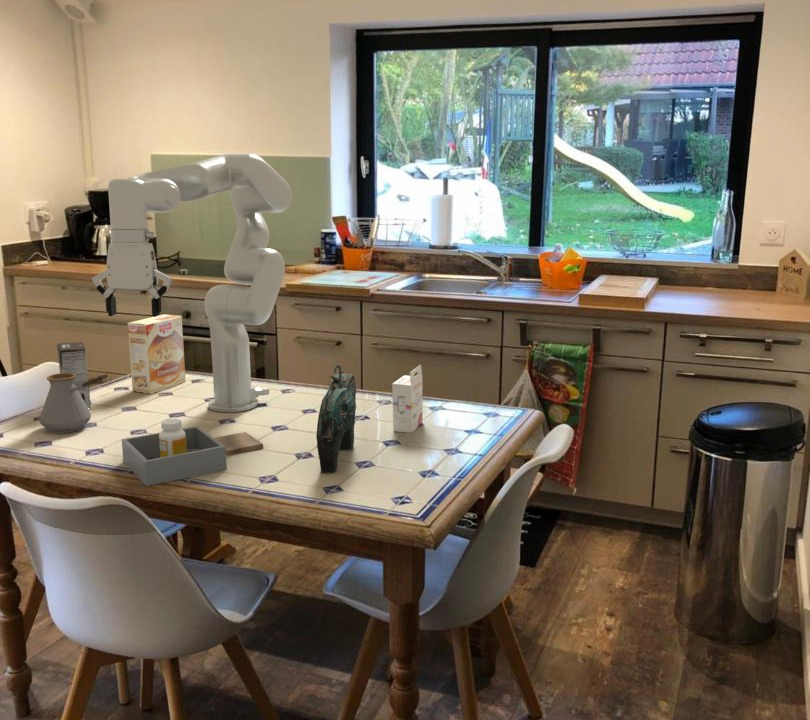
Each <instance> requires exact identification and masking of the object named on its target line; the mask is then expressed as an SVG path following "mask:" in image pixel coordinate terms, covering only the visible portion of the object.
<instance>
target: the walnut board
mask: <svg viewBox="0 0 810 720" xmlns="http://www.w3.org/2000/svg"><path fill="white" fill-rule="evenodd" d="M214 438H215V439H216V440H218V441H219V442H220V443H222V444H223V445H224V446H226V456H229V455H236V454H240V453H244V452H245V453H246V452H250V451H255V450H260V449H264V443H263V442H261V441H259V440H258V439H257V438H255V437H254V436H252V435H251V434H249V433H247V432H246V431H243V432H238V433H233V434H228V435H227V434H226V435H222V436H221V435H220V436H217V437H216V436H215V437H214Z"/></svg>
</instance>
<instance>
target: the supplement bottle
mask: <svg viewBox="0 0 810 720" xmlns="http://www.w3.org/2000/svg"><path fill="white" fill-rule="evenodd" d="M160 424H161V429H162V430H161V431H160V432H158V433H159V445H160V456H159V458H161V457H166V456H171V455H177V454H182V453H187V452H188V451H187V447H186V434H185V431H184V430H182V429H183V427H182V420H181V419H179V418H168V419H164V420H162V421H161V423H160Z"/></svg>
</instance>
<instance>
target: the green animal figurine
mask: <svg viewBox="0 0 810 720" xmlns="http://www.w3.org/2000/svg"><path fill="white" fill-rule="evenodd" d="M337 368H338V373H337ZM333 373H334V374H333V375H330V376H329V377H330V378H331V379H330V381H329V386H328V387H329V388H328V389H327V391H326V393H325V394H324V396H323V398H322V400H321V402H320V407H319V413H318V417H317V424H316V425H317V426H316V435H315V437H316V448H317V454H318V460H319V468H320V472H321V473H322V474H323V473H324V474H335V472H337V470H338V465H339V463H338V462H339V455H340V451H352V448H353V447H354V444H355V424H356V409H357V403H356V402H357V401H356V395H357V387H356V386H357V384H356V383H357V382H356V379H355V375H354V374H352V373H345V372H344V371H343V370H342V367H341V366H340V365H338V364H336V365H335V366H333Z"/></svg>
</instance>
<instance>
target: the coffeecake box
mask: <svg viewBox="0 0 810 720" xmlns="http://www.w3.org/2000/svg"><path fill="white" fill-rule="evenodd" d="M127 333H128V347H129V358H130V362H129V363H130V372H131V373H130V374H131V386H132V387H131V388H132V389H131V390H132V392H133V391H136V392H137V393H140V392H143V393H142V394H146V393H149V394H148V395H153V394H155V392H156V393H158V392H161V391H164V390H167V389H169V387H170V388H172V387H176V386H179V385H180V383H181V384H183V382H184V383H186V368H185V352H184V351H185V349H184V335H183V334H184V333H183V316H182V315H175V314H165V313H164V314H160V315H158V316H156V317H153V316H152V317H148V318H143V319H139V320H134V321H131V322H127ZM136 392H135V393H136Z"/></svg>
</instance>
